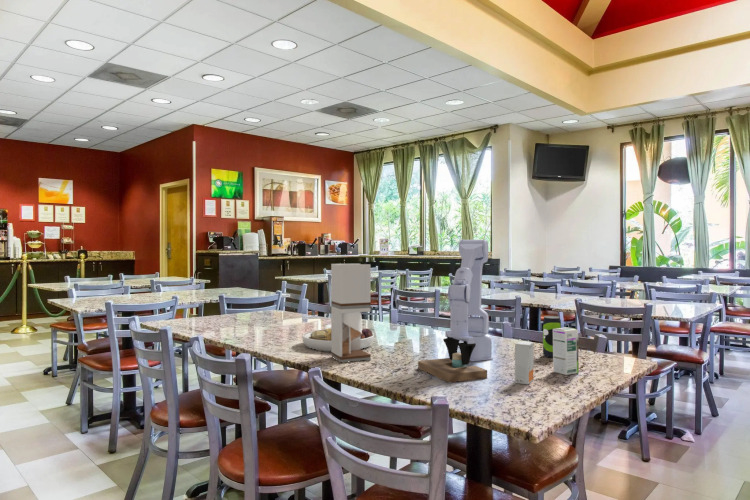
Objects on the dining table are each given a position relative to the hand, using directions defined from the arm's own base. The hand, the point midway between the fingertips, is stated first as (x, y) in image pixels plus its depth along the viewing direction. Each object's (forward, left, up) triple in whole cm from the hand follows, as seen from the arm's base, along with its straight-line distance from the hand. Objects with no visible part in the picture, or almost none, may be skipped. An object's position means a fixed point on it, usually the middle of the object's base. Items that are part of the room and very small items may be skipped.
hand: (459, 361), depth 169 cm
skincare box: (-12, +18, -4) cm, 22 cm away
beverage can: (-45, -7, -4) cm, 46 cm away
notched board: (+3, 0, -3) cm, 5 cm away
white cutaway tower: (+26, -33, -4) cm, 42 cm away
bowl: (+22, -59, -4) cm, 63 cm away
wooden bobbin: (0, 0, -3) cm, 3 cm away
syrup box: (-32, +14, -4) cm, 35 cm away
